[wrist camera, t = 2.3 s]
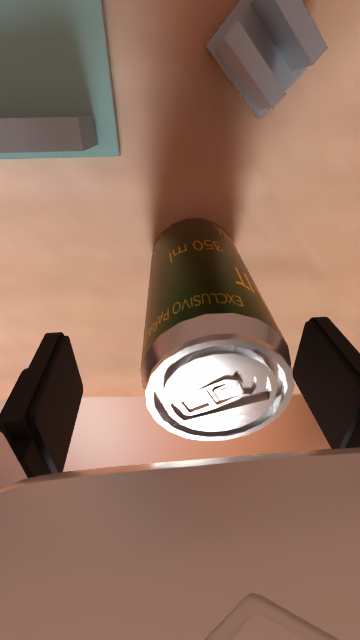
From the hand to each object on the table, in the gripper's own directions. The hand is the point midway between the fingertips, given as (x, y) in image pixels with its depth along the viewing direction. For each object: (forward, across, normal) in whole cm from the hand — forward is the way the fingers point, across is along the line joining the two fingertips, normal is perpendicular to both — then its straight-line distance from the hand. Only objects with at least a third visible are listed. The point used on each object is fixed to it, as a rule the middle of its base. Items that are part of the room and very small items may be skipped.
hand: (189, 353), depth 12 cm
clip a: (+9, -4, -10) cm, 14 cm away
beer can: (+10, -1, 0) cm, 10 cm away
